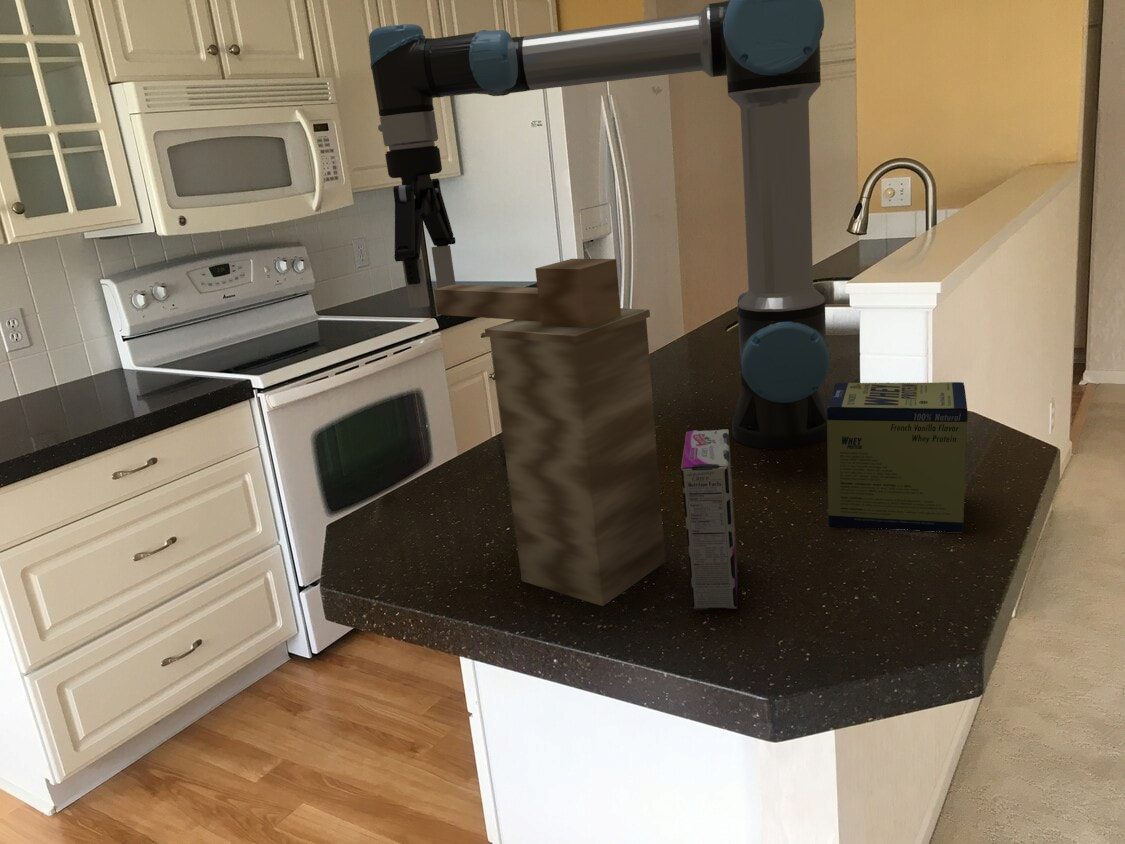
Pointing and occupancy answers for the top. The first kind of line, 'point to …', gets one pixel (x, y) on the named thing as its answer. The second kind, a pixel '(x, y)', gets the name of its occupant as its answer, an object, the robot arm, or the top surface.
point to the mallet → (543, 296)
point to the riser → (580, 453)
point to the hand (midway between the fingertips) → (433, 298)
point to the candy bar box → (710, 519)
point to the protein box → (897, 456)
